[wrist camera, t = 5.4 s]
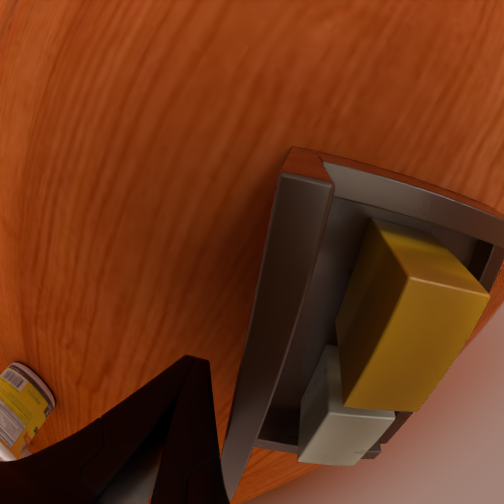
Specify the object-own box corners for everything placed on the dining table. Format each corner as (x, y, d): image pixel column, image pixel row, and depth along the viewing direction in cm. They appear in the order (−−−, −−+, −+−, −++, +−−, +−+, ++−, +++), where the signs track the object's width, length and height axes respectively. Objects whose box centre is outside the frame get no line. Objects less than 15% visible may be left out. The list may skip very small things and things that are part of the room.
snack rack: (489, 206, 9) (593, 277, 3) (381, 415, 14) (392, 509, 8) (291, 145, 9) (277, 169, 4) (239, 394, 14) (211, 496, 9)
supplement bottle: (43, 405, 21) (-6, 475, 12) (7, 362, 20) (-52, 429, 10) (67, 405, 19) (11, 490, 10) (25, 355, 18) (-45, 436, 8)
